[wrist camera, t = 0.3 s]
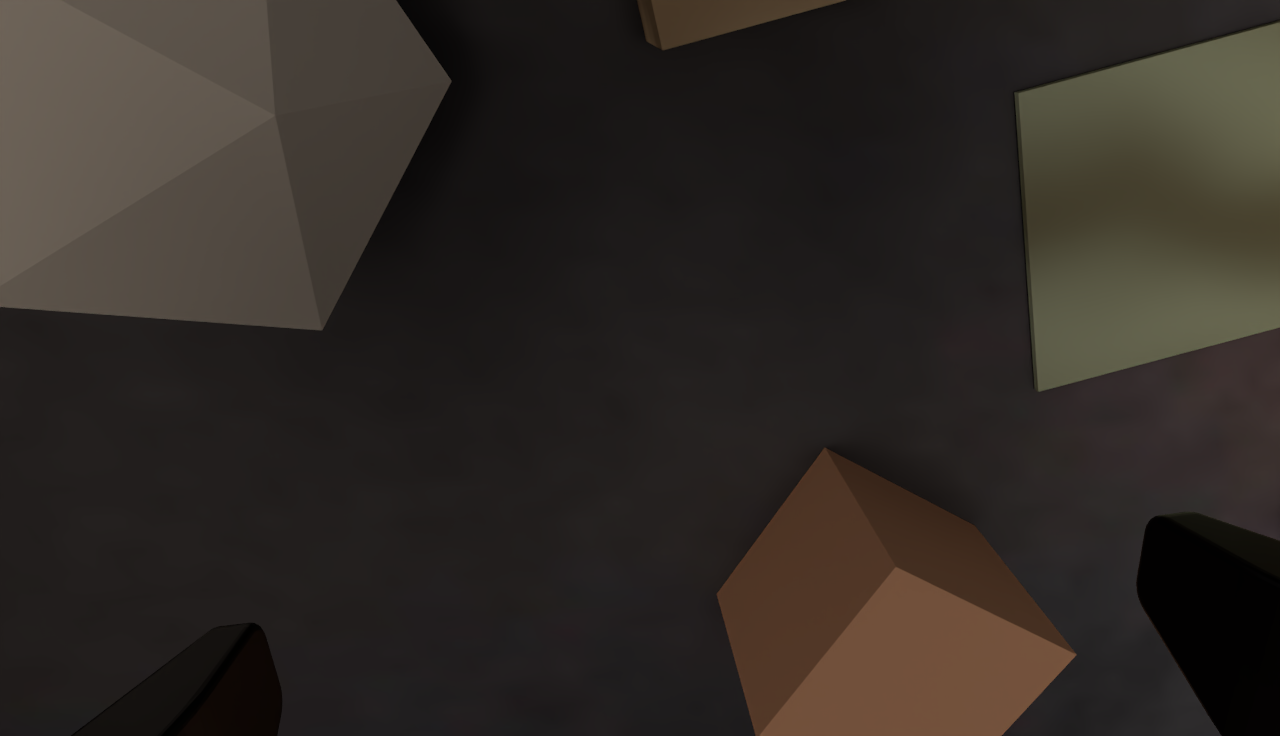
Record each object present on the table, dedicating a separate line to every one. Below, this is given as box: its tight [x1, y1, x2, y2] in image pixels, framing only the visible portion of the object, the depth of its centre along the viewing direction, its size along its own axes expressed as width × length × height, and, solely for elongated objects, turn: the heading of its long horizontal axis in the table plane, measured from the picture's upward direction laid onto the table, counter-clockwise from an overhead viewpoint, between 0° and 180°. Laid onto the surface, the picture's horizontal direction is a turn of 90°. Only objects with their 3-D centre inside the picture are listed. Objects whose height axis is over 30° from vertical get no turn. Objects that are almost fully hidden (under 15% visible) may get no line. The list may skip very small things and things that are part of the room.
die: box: [0, 0, 452, 330], centre depth 15 cm, size 8×9×10 cm
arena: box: [637, 0, 1280, 392], centre depth 21 cm, size 20×17×4 cm
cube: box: [717, 448, 1076, 736], centre depth 23 cm, size 6×6×6 cm
